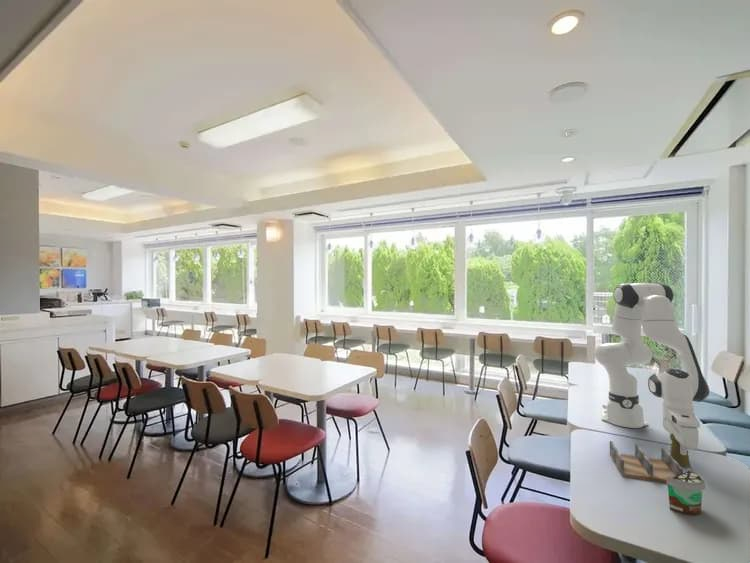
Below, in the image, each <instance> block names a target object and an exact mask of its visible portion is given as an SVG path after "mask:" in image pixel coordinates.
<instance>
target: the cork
mask: <svg viewBox="0 0 750 563" xmlns="http://www.w3.org/2000/svg"><path fill="white" fill-rule="evenodd" d="M669 438H670V441H671V445H670V453H669V454H670V455H671V456H672V457H673V458H674V459H675V460H676V462H677V463H678V464H679V465H680V466H681V467H682V468H690V467H691V462H690V457H689V452H688V450H687V455H682V454H680V453H679V448H680V443H679V442H678V441H677V440H676V439H675V436H674V434H673V433H671V434H670V433H669Z"/></svg>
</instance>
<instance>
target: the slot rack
mask: <svg viewBox="0 0 750 563" xmlns="http://www.w3.org/2000/svg"><path fill="white" fill-rule="evenodd" d="M660 451H661V455H660V456H661V458H654V457H653V458H652V457H648V456H647V455H646V454H645V452H644V451H643V450H642V449H641V447H640V446H639V444H634V455H631V454H625V453H620V452H619V450H618V449H617V447H616V445H615V443H614V442H613V441H612V440H609V456H610V458H611V460H612V461H613V463H614V464H615V467H616V469H617V471H618V472H619V474H620V475H621V477H624V478H632V479H637V480H638V479H639V480H643V481H644V480H645V481H650V482H656V483H664V484H666V482H667V477H670V478H673V477H675V476H676V475H678V474H682V473H684V467H681V466H680V465H679V464H678V463H677V462H676V460H675V459H674V458H673V457H672V456H671V455H670V453H669V452H668V451H667V449H666V448H665V447H661V450H660Z"/></svg>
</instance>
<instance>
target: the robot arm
mask: <svg viewBox="0 0 750 563" xmlns="http://www.w3.org/2000/svg"><path fill="white" fill-rule="evenodd" d="M613 300H614V302H615V306H614V312H613V313H614V314H613V319H612V326H611V329H612V331H613V332H614V333H615V334H616V335H618V336H619V337H620V341H619V342H605V343H602V344H597V346H595V348H594V352H593V353H594V354H593V355H594V358H595V360H596V361H597V362H598V363H599V364H600V365H601V366H602V367H604V369H605V370H606V372H607V375H608V381H609V391H608V399H607V400H606V401H605V402H606V403H602V409H601V414H600V415H601V418H600V419H601V421H604V422H608V423H610V424H613V425H616V426H619V427H622V428H630V429H640V428H643V427H644V426H645V427H647V426H649V423H648V422H647V421H645V415H644V408H643V407H642V406H641V404H639V403H640V398H639V396H640V395H639V394H638V393H639V392H638V380H637V377H635V376H634V375H633V374H631V373H629V371H628V370H627V369H628V368H627V366H639V365H645V364H647V363H649V362H650V361H651V360H652V356H653V355H652V354H653V353H652V350H651V348H650V347H649V346H648V345H647V344H645V342H644V341H643V338H642V332H643V333H644V335H645V336H646V337H647V338H648V339H649V340H650V341H653V342H654V343H655V344H656V343H657V344H658V345H659V344H660V345H662V346H666V347H669V348H670V349H672V350H674V351H676V353H677V354H678V356H679V359H680V361H681V365H682V367H683V370H680V369H677V368H668V369H667V368H666V369H665V370H664V371H663V372H661V373H653V374H651V375H650V376H649V378H648V380H647V386H648V387H647V388H648V390H649V392H650V393H651V394H652V395H653V396H655V397H657V398H660V399H663V402H662V428H664V430H666V432H667V433H669V435H670V434H671V433H673V434H674V436H675V439H676V440H677V441H678V442H679V443H680V448H679V453H680V454H682V455H687V451H688V450H695V451H696V450H697V449H698V448H699V428H700V427H701V425H700V421H699V419H698V418H697V417H696V414H695V408H694V407H695V406H694V405H693V402H696V403H697V402H698V403H701V402H703V401H704V400H706V399H707V398H708V397H709V395H710V387H709V385H708V383H707V380H706V378H705V376H704V374H703V372H702V370H701V366H700V364H699V361H698V358H697V355H696V353H695V351H694V348H693V345H692V342H691V340H690V338H689V337H688V336H687V335H685V334H684V333H682V332H681V330H680V329H679V327H678V324H677V321H676V315H675V311H674V308H673V304H672V302H673V300H674V292H673V290H672V288H671V287H670V286H669V285H667V284H663V283H652V282H651V283H650V282H637V283H636V282H635V283H621V284H620V283H619V284H618V285H617V286H615V288H614V290H613Z"/></svg>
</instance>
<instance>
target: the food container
mask: <svg viewBox="0 0 750 563" xmlns="http://www.w3.org/2000/svg"><path fill="white" fill-rule="evenodd" d="M665 485H667V491H668V501H669V510H671V511H673V512H676V513H678V514H681V515H685V516H692V517H693V516H694V517H695V516H699V515H701V513H702V501H703V498H702V497H703V490H705V489H706V483H705V480H704V478H703V476H702V475H701V474H699V473H698V472H697V471H695V470H693V469H691V468H690V467H687V471H686V472H683V473H682V474H678V475H676V476H675V477H673V478H670V477H667V482H666V483H665Z"/></svg>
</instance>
